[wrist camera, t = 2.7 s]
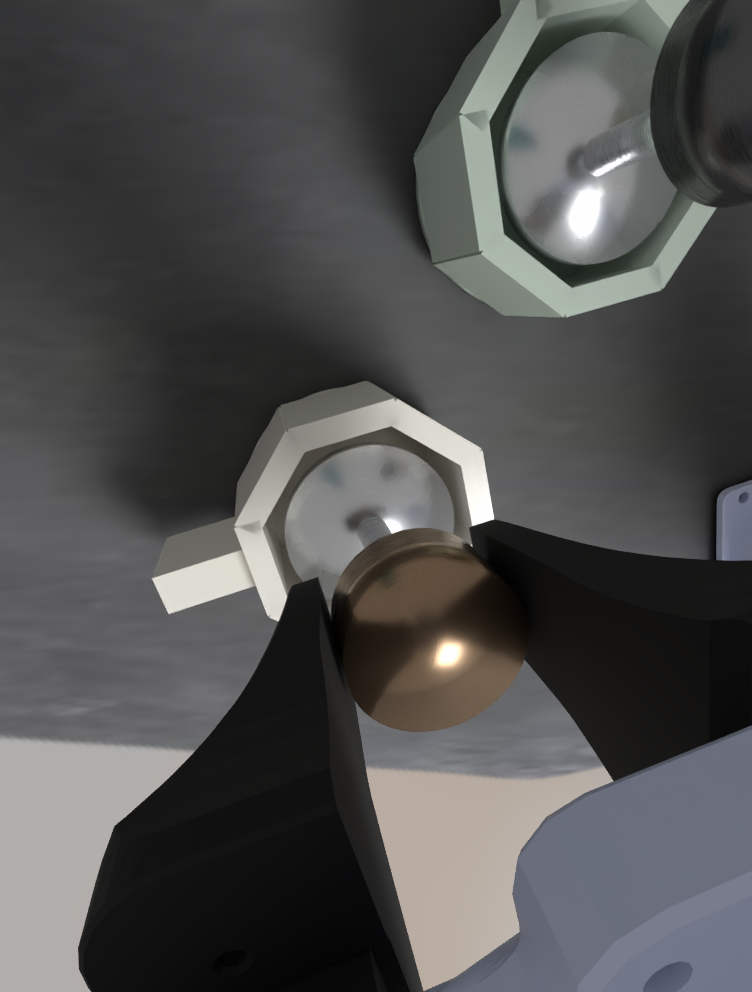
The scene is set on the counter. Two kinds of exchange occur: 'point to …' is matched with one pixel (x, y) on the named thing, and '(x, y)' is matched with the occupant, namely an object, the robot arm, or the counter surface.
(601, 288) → the sage press pot
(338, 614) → the cream press plunger
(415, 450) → the cream press pot
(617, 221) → the sage press plunger
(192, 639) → the counter surface
